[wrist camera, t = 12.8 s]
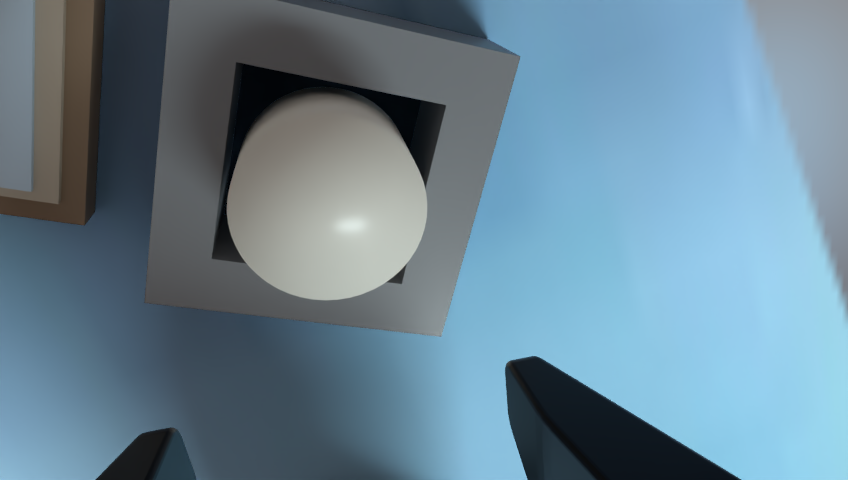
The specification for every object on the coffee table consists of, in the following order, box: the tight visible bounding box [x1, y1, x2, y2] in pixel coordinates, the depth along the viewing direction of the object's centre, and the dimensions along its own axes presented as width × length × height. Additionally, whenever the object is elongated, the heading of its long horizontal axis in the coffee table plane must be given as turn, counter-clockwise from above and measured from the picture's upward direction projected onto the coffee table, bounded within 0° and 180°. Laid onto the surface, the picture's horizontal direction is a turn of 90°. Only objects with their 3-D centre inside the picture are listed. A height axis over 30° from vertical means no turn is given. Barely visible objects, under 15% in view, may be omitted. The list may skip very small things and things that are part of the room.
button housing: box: [144, 0, 520, 337], centre depth 18 cm, size 8×8×3 cm
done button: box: [227, 87, 427, 300], centre depth 16 cm, size 4×4×3 cm
